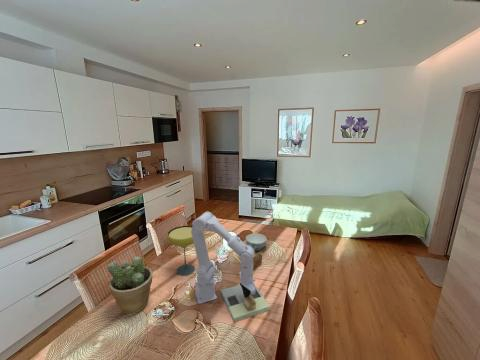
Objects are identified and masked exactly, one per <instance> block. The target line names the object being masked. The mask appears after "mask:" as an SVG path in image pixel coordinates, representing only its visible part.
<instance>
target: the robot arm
mask: <svg viewBox="0 0 480 360" xmlns="http://www.w3.org/2000/svg"><path fill="white" fill-rule="evenodd" d="M191 224H192V225H191V226H192V230H191V233H192V238H193V242H194V243H193V246H194V249H195V253H196V258H197V262H198V266H197V271H196V274H197V276H196V282H195V283H194V289H195V292H194V293H195V298H196V301H197V304H199V305H200V304H203V303H207V302H211V301H213V300H217V298H218V297H217V295H216V292H215V274H216V272H217V269H216V267H215V265H214V263H213V261H210V260H211V259H210V257H209V252H208V248H207V243H206V239H205V234H204V231H205V232H214V233H215V234H217V235H218V236H220V237H221V238H222V239H223V240H224V241H226V242H227V246H228V247H229V248H230V250H232V251H233V252H234V253H235V254H237V256H238V259H239V261H240V271H239V273H238V276H239V279H240V281H239V285H241V287H242V290H243V295H244V297H245V298H246V297H249V296H250V293H251V295H253V294H255V288H254V284H255V282H256V278H255V277H254V271H253V256H254V254H255V253H256V252H255V251H256V250H254V249H253V247H252V246H250V245H248V244H247V243H245V242H244V241H243V240H241V238H240V237H239V236H237V235H232V234H231V233H230V232H229V231H228V230H227V229H226V228H225V227H224V226H223V225H222V223H220V221H219V220H218V218H217V217H216V216H215V215H214V214H213V213H212V212H210V211H205V212H203V213H202V214H201V215H200V216H199V217H197V218H195V219H194V220H193V221H192V223H191Z"/></svg>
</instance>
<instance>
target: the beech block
mask: <svg viewBox="0 0 480 360" xmlns="http://www.w3.org/2000/svg"><path fill="white" fill-rule="evenodd" d="M244 306H245V308H246V309H247V311H251V310H254V309H256V301H255V300H254V298H253V297H252V296H250V297H246V298H244Z"/></svg>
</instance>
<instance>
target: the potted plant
mask: <svg viewBox="0 0 480 360" xmlns="http://www.w3.org/2000/svg"><path fill="white" fill-rule="evenodd" d="M143 262H144V261H143V258H142V257H140V256H136V257H135V256H134V257H133V259H132V261H131V262H130V261H128V260H124V261H122V262H121V265H119V263H117V262H116V261H112V262H110V263H109V264H108V265H107V266H106V269H107V271H108V273H110V275H111V277H110V280H109V282H108V287H109V290H110V293H111V295H112V297H113V299H114V300H115V303H116V304H117V306H118V309H120V310H121V312H122V313H123V314H124V315H127V314H133V315H135V314H134V313H136V314H138V313H139V311H140V312H141V311H143V310H144V309H145V308H146V307H147V305H148V301H149V298H150V292H151V287H152V286H151V285H152V283H153V271H152V269H151V267H148V266H145V265H144V263H143ZM137 312H138V313H137Z"/></svg>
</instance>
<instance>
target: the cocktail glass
mask: <svg viewBox="0 0 480 360" xmlns="http://www.w3.org/2000/svg"><path fill="white" fill-rule="evenodd" d="M192 226H193V225H181V226H176V227H174V228H172V229H170V230H169V231H167V236H166V237H167V238H166V239H167V242H168V243H169V244H170V245H172V246H174V247H181V248H182V249H183V252H184V253H183V256H184V264H183V265H180V266H179V267H177V269H176V274H177V275H178V276H180V277H181V276H183V277H184V276H189V275H191V274H193V273H194V272H195V271H196V269H195V266H194V265H192V264H189V263H188V264H187V260H186V258H187V257H186V248H187V247H188V246H190V245H192V244H193V245H194V242H193V238H192V233H191V230H192Z"/></svg>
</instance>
